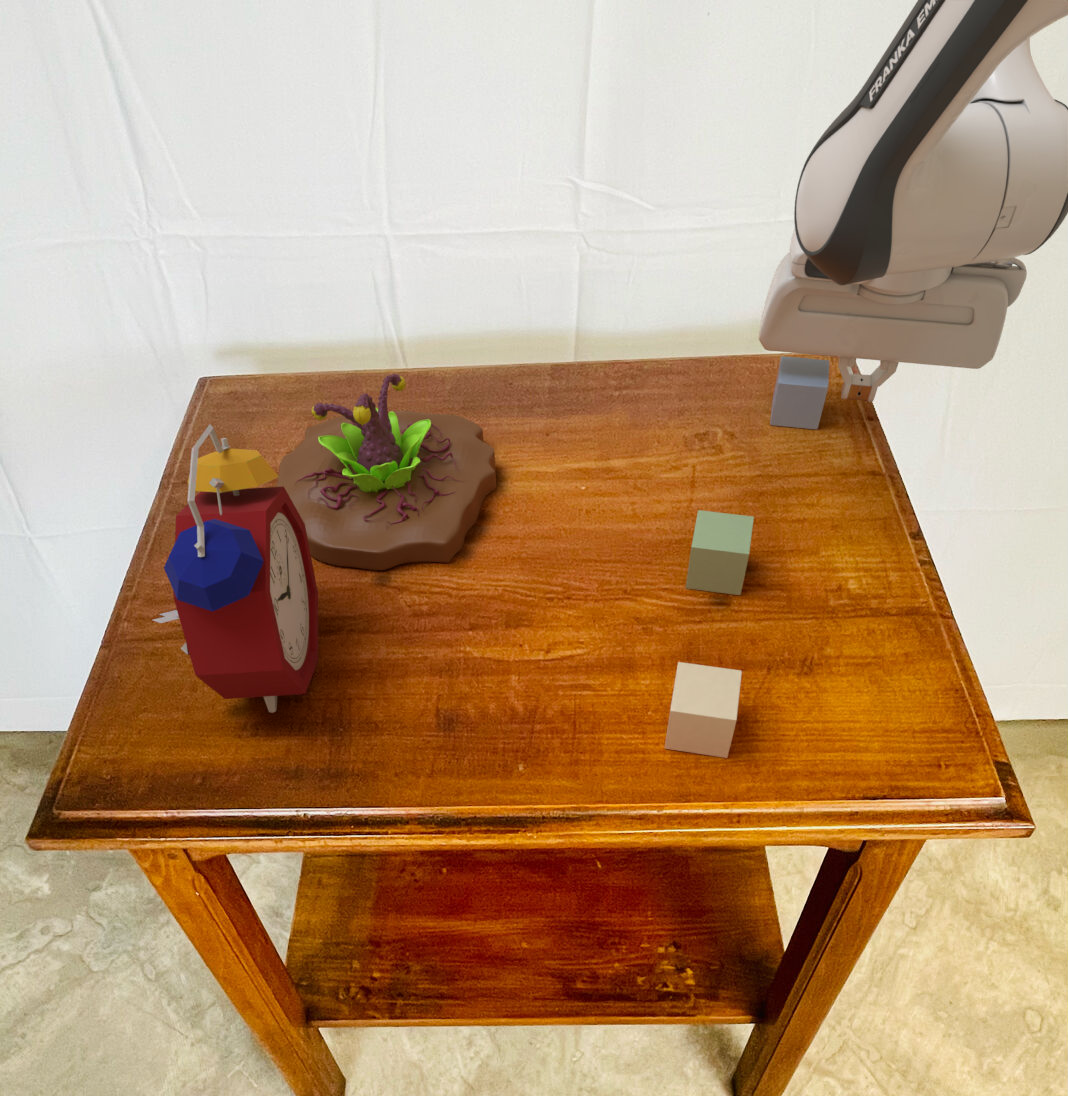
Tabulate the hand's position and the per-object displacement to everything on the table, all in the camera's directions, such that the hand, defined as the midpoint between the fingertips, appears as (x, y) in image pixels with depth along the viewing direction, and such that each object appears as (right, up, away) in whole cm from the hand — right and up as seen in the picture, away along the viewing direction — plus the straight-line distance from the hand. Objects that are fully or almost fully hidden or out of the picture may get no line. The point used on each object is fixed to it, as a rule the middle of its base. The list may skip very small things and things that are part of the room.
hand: (856, 397), depth 85 cm
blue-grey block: (-5, -1, +3) cm, 6 cm away
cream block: (-18, -32, -19) cm, 41 cm away
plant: (-44, -10, -2) cm, 45 cm away
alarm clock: (-52, -27, -14) cm, 60 cm away
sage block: (-15, -19, -10) cm, 26 cm away
